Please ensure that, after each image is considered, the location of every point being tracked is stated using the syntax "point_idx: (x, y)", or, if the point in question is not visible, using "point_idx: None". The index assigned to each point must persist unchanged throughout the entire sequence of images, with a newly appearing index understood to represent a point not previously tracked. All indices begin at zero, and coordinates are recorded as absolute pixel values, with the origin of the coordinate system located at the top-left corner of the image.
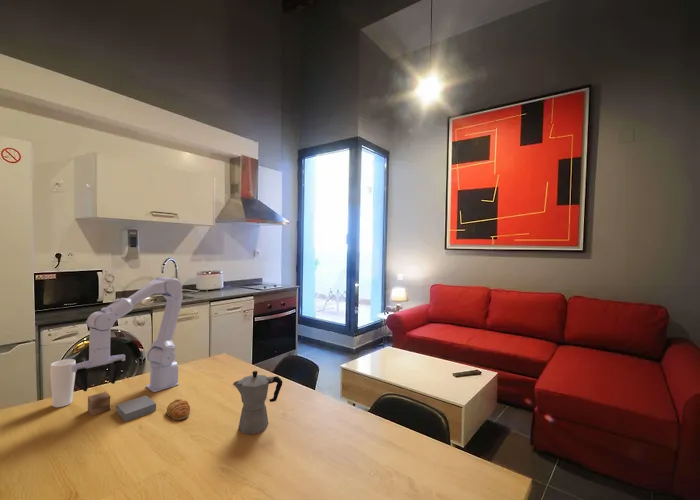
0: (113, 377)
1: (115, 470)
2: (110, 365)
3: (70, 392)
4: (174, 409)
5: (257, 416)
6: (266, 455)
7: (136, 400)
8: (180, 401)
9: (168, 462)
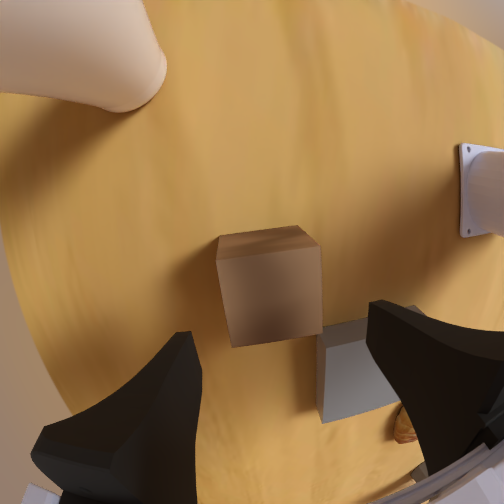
0: (390, 384)
1: (250, 498)
2: (471, 356)
3: (133, 83)
4: (408, 435)
5: None
6: None
7: None
8: None
9: (312, 501)
